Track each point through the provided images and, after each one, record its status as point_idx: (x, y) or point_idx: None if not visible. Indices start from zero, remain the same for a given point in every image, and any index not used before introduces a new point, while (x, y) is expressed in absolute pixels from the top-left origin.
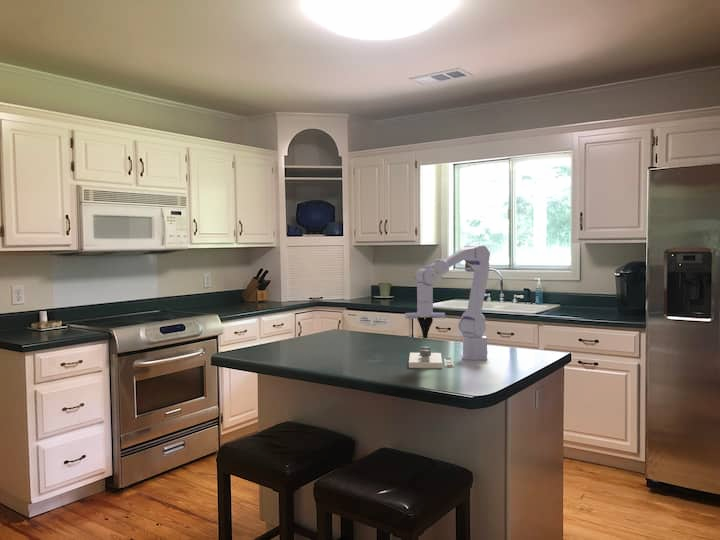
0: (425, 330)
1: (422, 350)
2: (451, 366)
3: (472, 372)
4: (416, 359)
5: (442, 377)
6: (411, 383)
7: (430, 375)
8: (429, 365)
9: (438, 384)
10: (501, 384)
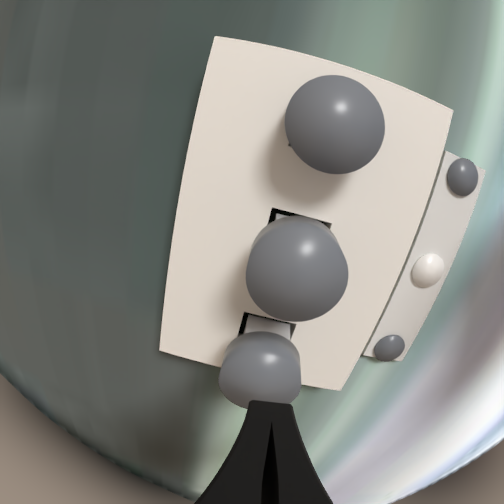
0: (266, 491)
1: (238, 380)
2: (391, 359)
3: (418, 419)
4: (213, 294)
5: None
6: (171, 473)
7: None
8: None
9: None
10: (397, 494)
